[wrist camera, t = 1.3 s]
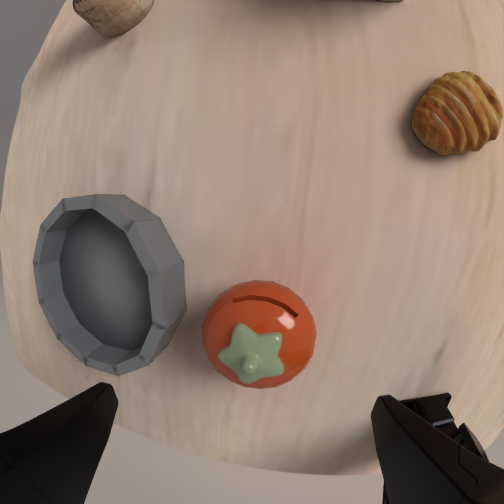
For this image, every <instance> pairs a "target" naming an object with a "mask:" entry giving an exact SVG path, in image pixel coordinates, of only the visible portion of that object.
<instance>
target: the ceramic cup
mask: <svg viewBox="0 0 504 504" xmlns="http://www.w3.org/2000/svg"><path fill="white" fill-rule="evenodd" d="M379 1H382V2H388V1H403V0H379Z"/></svg>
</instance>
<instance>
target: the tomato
mask: <svg viewBox="0 0 504 504" xmlns="http://www.w3.org/2000/svg"><path fill="white" fill-rule="evenodd" d="M315 340H316V329H315V324H314V320H313V316H312V315H311V313H310V311H309V310H308V308H307V306H306V305H305V303H304V302H303V300H302V299H301V298H300V297H299V296H298V295H297V294H295V293H294V292H293V291H292V290H290V289H289V288H287V287H285V286H282V285H280V284H277V283H275V282H273V281H260V280H253V281H249V282H244V283H240V284H237V285H235V286H233V287H232V288H230V289H228V290H227V291H225V292H223V293H222V294H220V295H219V296H218V297H217V299H216V300H215V301H214V302H213V303H212V305H211V306H210V307H209V309H208V311H207V314H206V317H205V320H204V323H203V326H202V342H203V345H204V348H205V351H206V353H207V356H208V359H209V361H210V362H211V363H212V365H213V366H214V367H215V369H216V370H217V371H218V372H219V373H220V374H221V375H223V376H224V377H226V378H227V379H228V380H230V381H231V382H234V383H236V384H239V385H241V386H244V387H249V388H257V389H265V388H272V387H277V386H280V385H282V384H284V383H286V382H289V381H291V380H292V379H293V378H294V377H296V376H297V375H298V374H299V373H300V372H301V371H303V370H304V369H305V368H306V366H307V364H308V362H309V361H310V359H311V357H312V355H313V351H314V346H315Z"/></svg>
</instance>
